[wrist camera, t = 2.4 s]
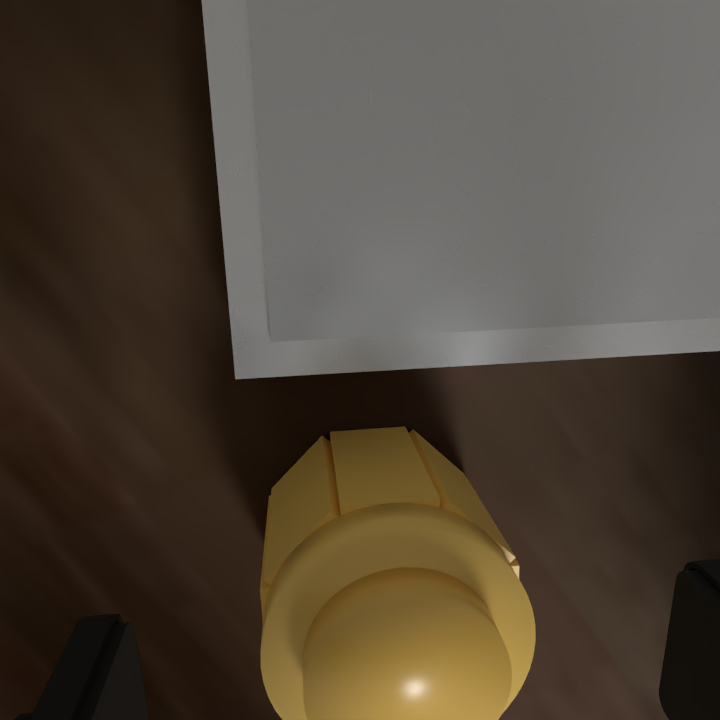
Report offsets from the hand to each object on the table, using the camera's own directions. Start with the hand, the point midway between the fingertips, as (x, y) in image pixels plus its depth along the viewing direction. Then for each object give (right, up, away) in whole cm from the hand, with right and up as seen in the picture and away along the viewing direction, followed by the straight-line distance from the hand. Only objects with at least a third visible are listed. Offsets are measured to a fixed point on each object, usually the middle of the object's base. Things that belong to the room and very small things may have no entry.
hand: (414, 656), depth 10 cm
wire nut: (-1, +1, +6) cm, 6 cm away
